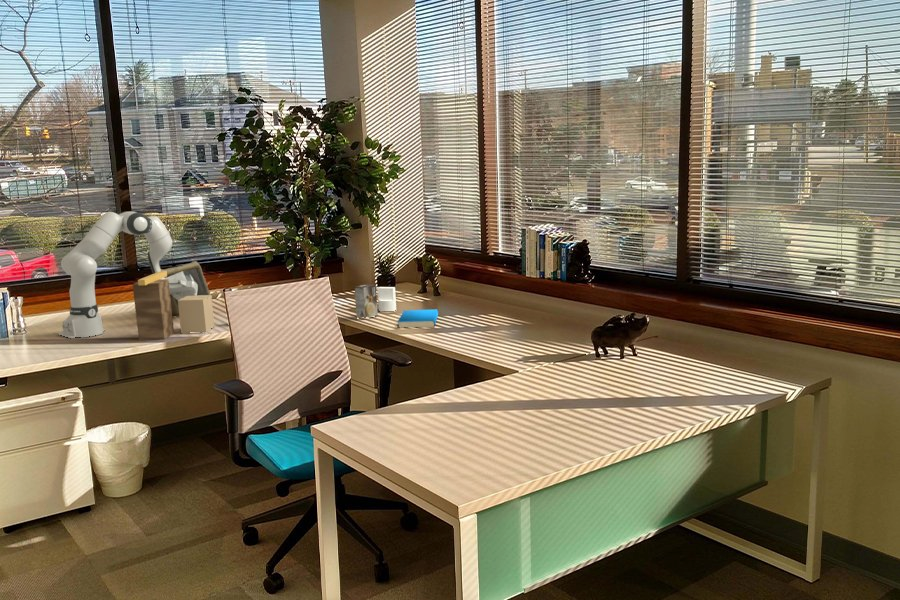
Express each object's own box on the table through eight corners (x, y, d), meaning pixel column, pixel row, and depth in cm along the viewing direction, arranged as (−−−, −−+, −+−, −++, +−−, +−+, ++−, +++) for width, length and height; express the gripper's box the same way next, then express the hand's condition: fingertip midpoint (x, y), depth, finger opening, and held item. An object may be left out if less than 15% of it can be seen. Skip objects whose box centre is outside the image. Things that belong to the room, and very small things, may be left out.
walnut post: (149, 334, 399) (143, 280, 394) (174, 333, 398) (168, 279, 394) (138, 340, 387) (132, 284, 383) (164, 339, 387) (158, 283, 382)
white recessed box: (376, 312, 428) (374, 289, 426) (382, 308, 436) (381, 285, 434) (392, 312, 425) (391, 289, 423) (399, 309, 433) (397, 286, 431)
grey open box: (181, 317, 438) (176, 269, 434) (158, 316, 442) (153, 269, 437) (214, 305, 469) (210, 260, 465) (192, 304, 473) (188, 260, 468)
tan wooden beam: (161, 276, 404) (160, 271, 403) (167, 276, 404) (166, 270, 403) (138, 285, 378) (137, 280, 378) (145, 285, 378) (144, 279, 378)
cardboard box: (190, 328, 408) (186, 295, 406) (214, 327, 408) (211, 295, 405) (181, 333, 397) (177, 300, 394) (206, 333, 396) (202, 299, 393)
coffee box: (368, 315, 421) (366, 283, 418) (378, 316, 417) (376, 284, 414) (356, 318, 414) (354, 286, 411) (365, 320, 410) (363, 287, 407)
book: (398, 321, 387) (403, 309, 412) (398, 330, 388) (403, 318, 413) (435, 319, 386) (437, 308, 411) (435, 328, 387) (438, 317, 412)
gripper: (160, 286, 425) (149, 276, 412) (200, 284, 424) (190, 274, 411) (159, 298, 423) (148, 288, 410) (199, 296, 422) (189, 286, 409)
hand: (169, 281), depth 410 cm, fingers open, 8 cm apart
